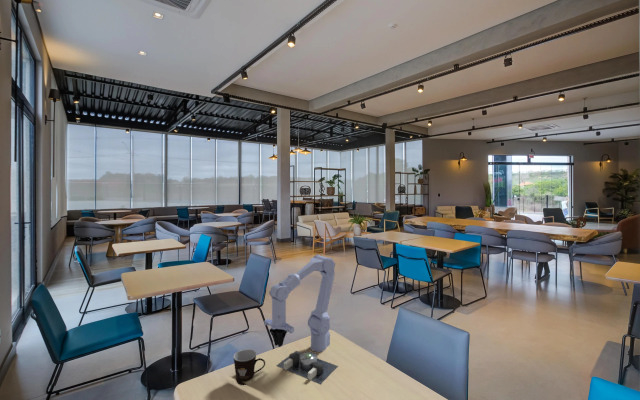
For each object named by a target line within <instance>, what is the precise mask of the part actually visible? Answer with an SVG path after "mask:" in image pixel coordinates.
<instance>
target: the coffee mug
mask: <svg viewBox="0 0 640 400" xmlns="http://www.w3.org/2000/svg"><path fill="white" fill-rule="evenodd" d="M258 361H262V362H263V365H262V366H261V367H260V368H258V369H257V370H255V367H256V363H257V362H258ZM233 365H234V371H235V378H236V379H235V380H236V384H237V385H240V386H247V385H248V384H247V383H246V382H249V381H251V380H252V379H253V378H254V375H255V374H257V373H259V372H260V371H261V370H262V369H264V367H265V366H266V361H265V359H263V358H261V357H259V358H257V352H256V351H255V350H253V349H248V348H247V349H241V350H238V351H237V352H235V353H234V354H233Z"/></svg>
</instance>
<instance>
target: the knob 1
mask: <svg viewBox="0 0 640 400" xmlns="http://www.w3.org/2000/svg"><path fill="white" fill-rule="evenodd" d="M298 364H299V354H298V353H294V352H291V353H290V354H289V359H288V360H287V361H286V362H284V369H283V370H286V371H287V369H289V368H290V367H291V366H292V365H293V366H295V365H298Z"/></svg>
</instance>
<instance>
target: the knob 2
mask: <svg viewBox="0 0 640 400" xmlns="http://www.w3.org/2000/svg"><path fill="white" fill-rule="evenodd" d="M321 374H323V363H322V362H314V363H313V368H312V369H311V370H310V371H309V372H308V379H307V380H309V381H311V380H312V379H313V378H314V377H315V376H316V375H321Z"/></svg>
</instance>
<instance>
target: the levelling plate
mask: <svg viewBox="0 0 640 400" xmlns="http://www.w3.org/2000/svg"><path fill="white" fill-rule="evenodd" d="M293 353H298V354H299V364H298V365H295V366H293V365H292V366H291V367H290V368H289V369H287V370H286V371H287V372H289V373H292V374H295V375H297V376H300V377H302V378H305V379H306V380H309V379H308V372H309V371H310V370H311V369H312V368H313V363H314V362H322V363H323V374H321V375H316V376H315V377H314V378H313V379H312V380H310V381H311V382H313V383H316V384H319V385H321V384H323V383H324V382H325V381H326V380H327V378H329V376H330V375H331V374H332V373H334V371H336V369H337V368H339V366H338V365H337V364H333V363H331V362H328V361H326V360H323V359H320V358H318V355H317V354H316V353H315V352H313V351H312V352H311V351H308V352H307V351H306V352H300V351H297V350H295V351H294V352H293ZM288 359H289V356H287V357H286V358H285V359H283V360H281V361H280V362H279V363H278V364H276V365H275V366H276V367H278V368H280V369H283V370H285V369H284V362H286V361H287V360H288Z"/></svg>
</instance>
